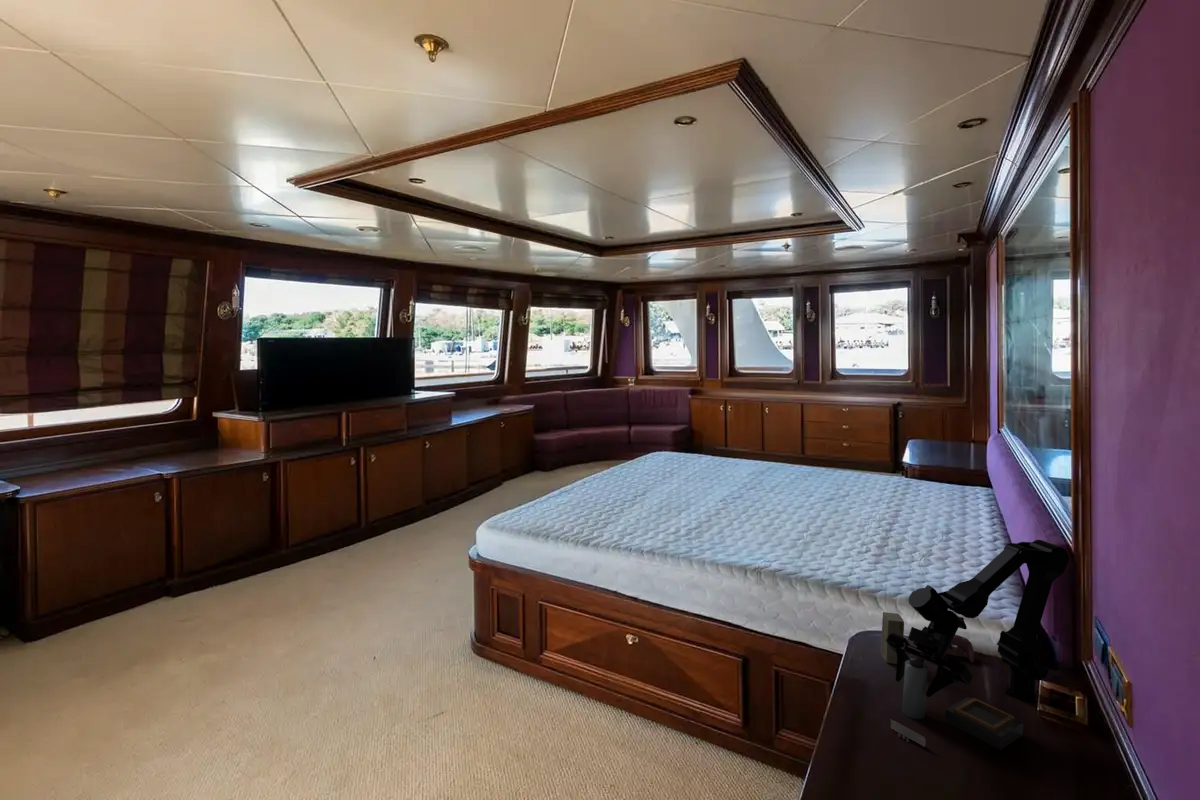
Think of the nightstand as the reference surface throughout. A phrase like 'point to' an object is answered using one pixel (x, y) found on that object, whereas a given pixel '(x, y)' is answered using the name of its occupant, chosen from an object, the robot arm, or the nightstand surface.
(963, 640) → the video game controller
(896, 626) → the skincare box
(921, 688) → the white capped bottle
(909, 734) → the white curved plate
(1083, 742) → the nightstand surface
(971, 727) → the grey rectangular box
